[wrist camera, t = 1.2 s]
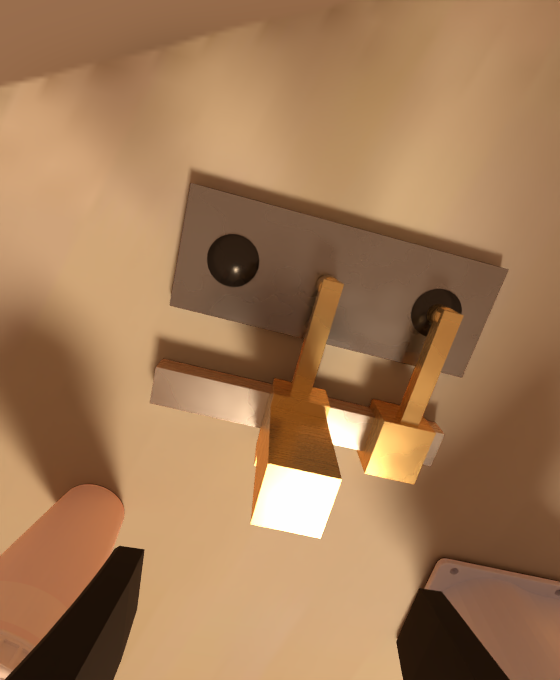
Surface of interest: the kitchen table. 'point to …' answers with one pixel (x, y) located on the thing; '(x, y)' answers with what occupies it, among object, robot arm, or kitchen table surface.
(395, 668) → the kitchen table surface
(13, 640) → the smoothie
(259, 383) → the dividers bar
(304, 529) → the orange block with stem
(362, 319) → the flange plate
